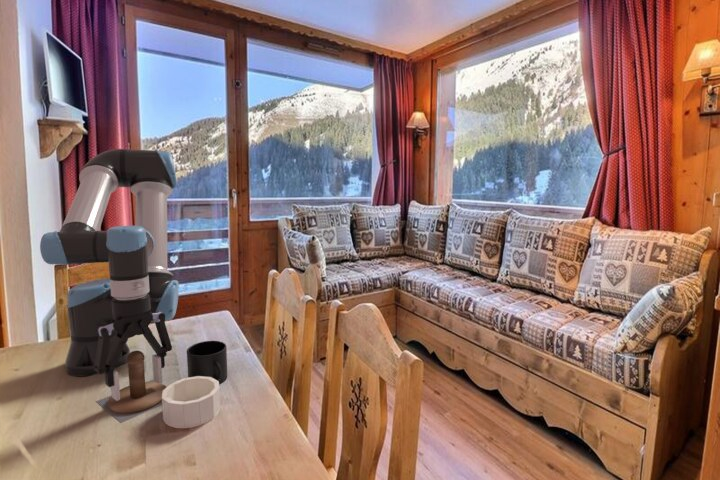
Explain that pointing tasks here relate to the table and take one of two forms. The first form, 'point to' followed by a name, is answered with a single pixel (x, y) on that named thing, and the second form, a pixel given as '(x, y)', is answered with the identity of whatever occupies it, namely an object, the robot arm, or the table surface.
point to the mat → (122, 417)
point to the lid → (137, 389)
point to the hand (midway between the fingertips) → (137, 389)
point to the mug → (208, 360)
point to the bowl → (191, 401)
